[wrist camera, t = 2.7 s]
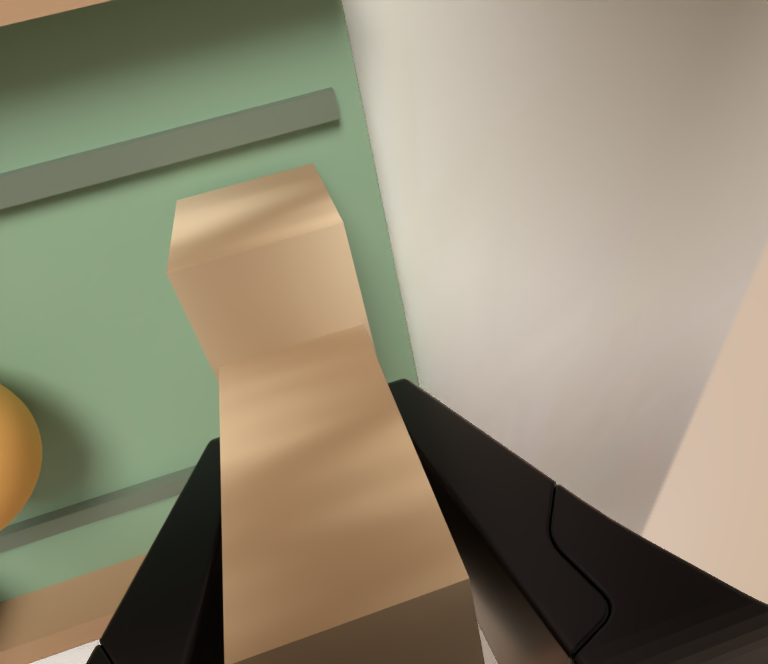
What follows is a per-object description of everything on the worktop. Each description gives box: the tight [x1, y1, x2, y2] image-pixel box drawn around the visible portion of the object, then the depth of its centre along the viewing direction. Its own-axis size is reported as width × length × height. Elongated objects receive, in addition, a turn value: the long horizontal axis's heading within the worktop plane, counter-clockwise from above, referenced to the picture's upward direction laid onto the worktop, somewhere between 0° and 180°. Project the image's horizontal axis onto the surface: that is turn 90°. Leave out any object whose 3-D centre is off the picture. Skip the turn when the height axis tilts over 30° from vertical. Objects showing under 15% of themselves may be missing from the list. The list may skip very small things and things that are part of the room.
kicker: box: [166, 163, 485, 664], centre depth 9 cm, size 3×6×8 cm, turn 11°
